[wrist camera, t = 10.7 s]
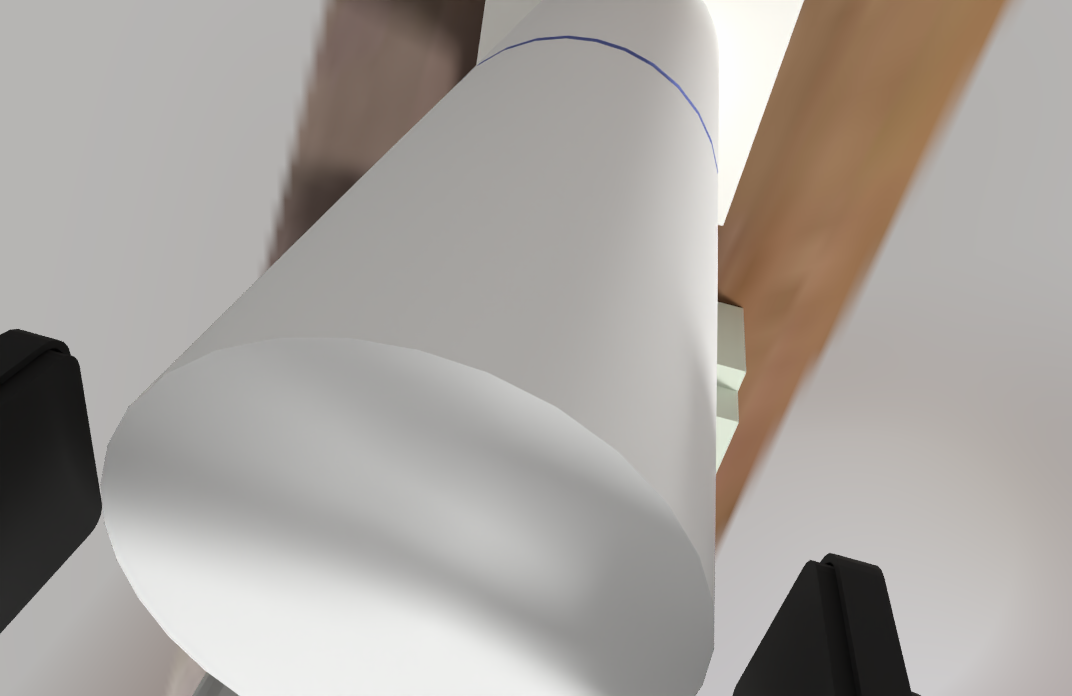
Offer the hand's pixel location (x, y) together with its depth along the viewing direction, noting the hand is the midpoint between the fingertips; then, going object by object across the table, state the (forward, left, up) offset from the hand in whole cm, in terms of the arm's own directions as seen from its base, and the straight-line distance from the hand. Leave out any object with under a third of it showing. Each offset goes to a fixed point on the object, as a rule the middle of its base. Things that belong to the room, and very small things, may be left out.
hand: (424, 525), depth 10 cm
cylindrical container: (0, 0, -24) cm, 24 cm away
